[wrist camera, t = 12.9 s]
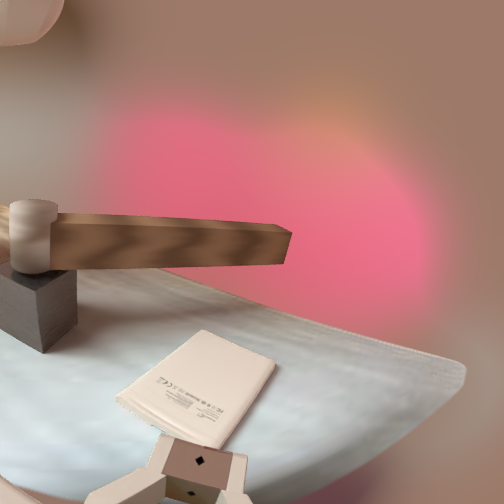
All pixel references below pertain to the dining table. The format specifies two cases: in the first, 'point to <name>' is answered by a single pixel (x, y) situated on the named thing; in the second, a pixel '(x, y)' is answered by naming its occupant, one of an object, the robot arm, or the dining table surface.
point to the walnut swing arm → (134, 241)
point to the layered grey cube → (37, 305)
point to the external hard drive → (199, 389)
